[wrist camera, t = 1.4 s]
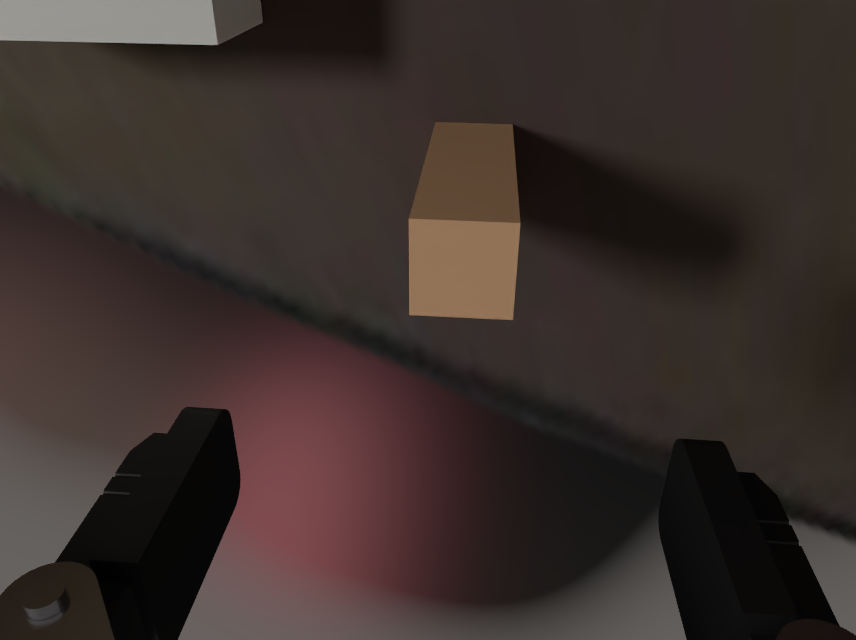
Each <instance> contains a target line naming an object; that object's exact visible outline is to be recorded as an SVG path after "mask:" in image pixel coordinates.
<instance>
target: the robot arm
mask: <svg viewBox="0 0 856 640" xmlns="http://www.w3.org/2000/svg"><path fill="white" fill-rule="evenodd" d="M239 490H240V469H239V462H238V456H237V450H236V444H235V438H234V431H233V425H232V419H231V416H230V413H229V411H228V410H226V409H213V408H197V407H186V408H184V409H183V410H182V411H181V412H180V414H179V416H178V417H177V419H176V420H175V422H174V424H173V425H172V427H171V429H170V430H169V432H168V433H167V434H164V433H153V434H152V435H150V436H149V437H148V438H147V439H145V440H144V441H143V442H141V443H140V444H139V445H137V446H136V447H135V448H133V449H132V450H131V451H130V452H129V453H128V455H127V456H126V458H125V459H124V461H123V462H122V464H121V465H120V467H119V468H118V470H117V472H116V475H115V477H112V479H111V480H110V482H109V483H108V485H107V486H106V488H105V489H104V494H103V495H100V497H99V498H98V500H97V501H96V503H95V504H94V506H93V507H92V508H91V510H90V511H89V513H88V514H87V516H86V517H85V519H84V521H83V522H82V523H81V525H80V526H79V528H78V529H77V531H76V532H75V534H74V535H73V537H72V538H71V540H70V541H69V543H68V544H67V546H66V547H65V549H64V550H63V552H62V553H61V554H60V556H59V558H58V559H57V561H56V562H55V563H51V564H47V565H44V566H41V567H38V568H36V569H34V570H31V571H29V572H28V573H26V574H24V575H22V576H21V577H20V578H18V579H17V580H15V581H14V582H13V583H12V584H11V585H10V586H8V587H7V588H6V589H5V591H4V592H3V593H2V594H1V595H0V640H178V638H179V636H180V633H181V631H182V628H183V626H184V624H185V621H186V619H187V617H188V615H189V613H190V610H191V608H192V606H193V603H194V601H195V599H196V596H197V594H198V592H199V589H200V587H201V585H202V583H203V580H204V578H205V576H206V573H207V571H208V569H209V567H210V564H211V562H212V560H213V557H214V555H215V553H216V550H217V548H218V546H219V544H220V541H221V539H222V536H223V534H224V532H225V530H226V527H227V525H228V523H229V521H230V518H231V516H232V514H233V511H234V509H235V506H236V504H237V500H238V496H239ZM658 522H659V532H660V539H661V543H662V547H663V551H664V554H665V558H666V562H667V566H668V570H669V574H670V578H671V581H672V585H673V589H674V593H675V597H676V601H677V604H678V608H679V612H680V616H681V620H682V624H683V628H684V631H685V635H686V639H687V640H856V635H854V634H853V633H851V632H849V631H847V630H846V629H844V628H842V627H840V626H839V624H838V622H837V620H836V618H835V616H834V614H833V612H832V610H831V607H830V605H829V603H828V601H827V599H826V597H825V595H824V593H823V591H822V589H821V587H820V584H819V582H818V580H817V578H816V576H815V574H814V572H813V570H812V568H811V566H810V564H809V561H808V559H807V557H806V555H805V553H804V551H803V549H802V547H801V546H799V544H798V543H799V540H798V538H797V536H796V534H795V532H794V530H793V528H792V526H791V525H789V519H788V517H787V515H786V513H785V511H784V509H783V507H782V505H781V503H780V501H779V498H778V496H777V495H776V494H775V493H774V492H773V491H772V490H771V489H770V488H769V487H768V486H767V485H766V484H765V483H764V482H763V481H762V480H761V479H760V478H759V477H758V476H757V475H756V474H755V473H746V472H737V471H736V468H735V466H734V464H733V461H732V459H731V457H730V454H729V452H728V450H727V447H726V445H725V444H724V443H723V442H721V441H709V440H693V439H677V440H676V441H675V443H674V445H673V449H672V453H671V457H670V461H669V466H668V470H667V474H666V478H665V482H664V486H663V491H662V495H661V499H660V504H659V515H658Z"/></svg>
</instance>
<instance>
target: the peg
mask: <svg viewBox="0 0 856 640" xmlns="http://www.w3.org/2000/svg"><path fill="white" fill-rule="evenodd" d="M519 235H520V211H519V198H518V186H517V173H516V161H515V148H514V136H513V124H484V123H451V122H436V123H435V126H434V130H433V133H432V137H431V141H430V144H429V148H428V152H427V155H426V159H425V162H424V166H423V170H422V173H421V177H420V180H419V184H418V188H417V191H416V195H415V198H414V202H413V206H412V209H411V213H410V217H409V315H421V316H441V317H462V318H483V319H503V320H513V311H514V298H515V286H516V273H517V260H518V248H519Z"/></svg>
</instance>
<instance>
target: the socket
mask: <svg viewBox="0 0 856 640" xmlns="http://www.w3.org/2000/svg"><path fill="white" fill-rule="evenodd" d="M261 23H263V18H262V8H261V0H0V40H19V41H62V42H105V43H148V44H191V45H219V44H221V43H223V42H225V41H227V40H229V39H231V38H233V37H235V36H237V35H239V34H241V33H243V32H245V31H247V30H249V29H251V28H253V27H255V26H257V25H259V24H261Z"/></svg>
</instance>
